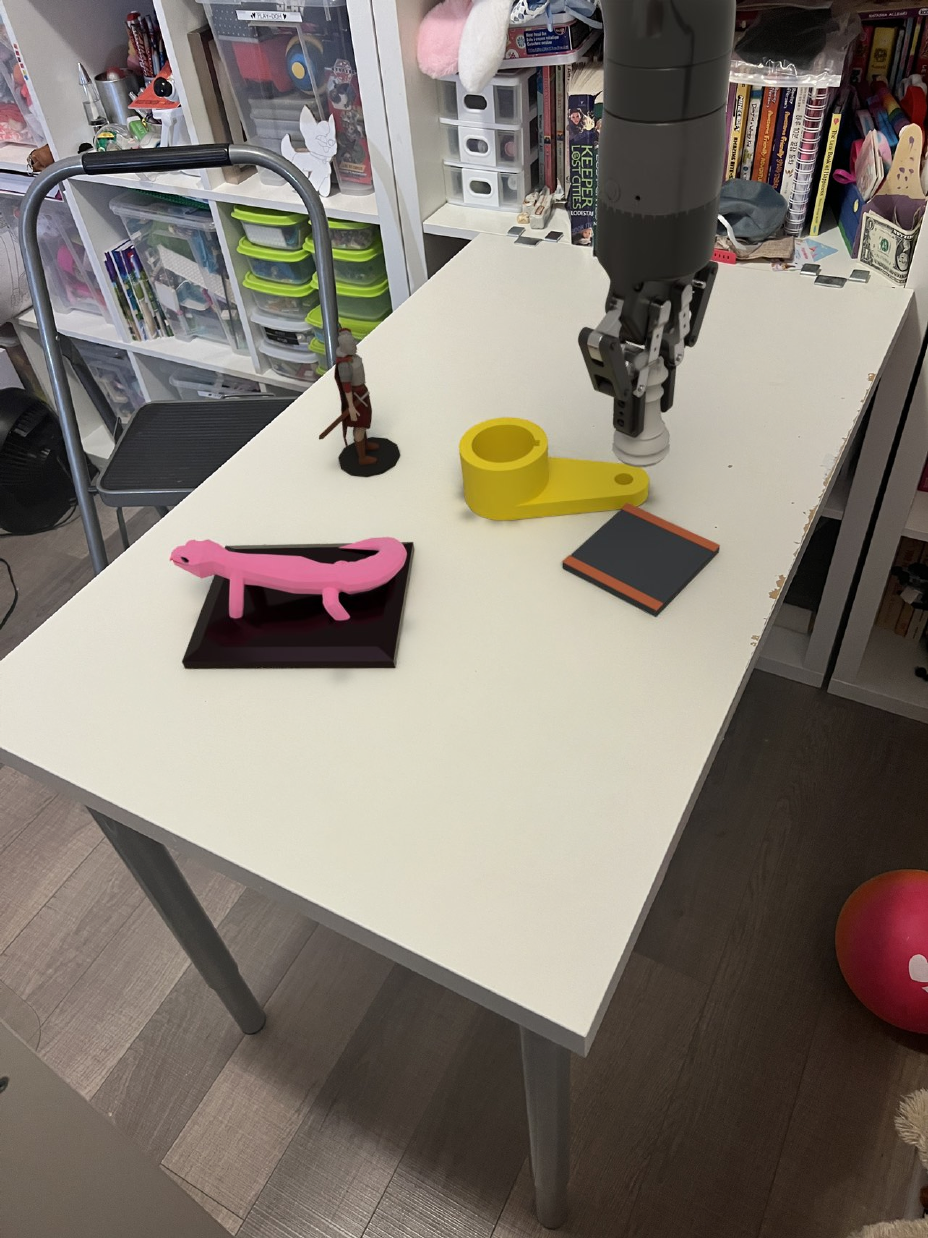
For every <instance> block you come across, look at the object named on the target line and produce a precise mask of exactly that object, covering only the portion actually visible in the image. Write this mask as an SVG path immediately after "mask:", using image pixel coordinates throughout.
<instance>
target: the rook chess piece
mask: <svg viewBox="0 0 928 1238" xmlns="http://www.w3.org/2000/svg"><path fill="white" fill-rule="evenodd" d="M627 363H628V365H626V366H627V370H628V374H629V375H631V376H634V371H635V366H634V364H632V363H630V362H627ZM667 377H668V370H667V369H666V367H665V366H664V359H663V358H662V357H661V356H660V357H658V360H657V361H656V362H655V363H653V364H651V365H650V368H649V374H648V380H647V385H646V389H645V392H646V402H645V417H644V430H643V432H642V433H641V434H640V435H639V436H637V437H636V438H633V437H630V436H628V435H626V434H623V433H621V432H618V431H617V430H616V429H615V430H614V432H613V440H612V441H613V442H612V446H611V447H612V448H611V451H612V453H613V454H614V456H615V458H616V459H617V460H618V461H620V463H622V464H626V465H629V466H633V467H640V468H648V467H652V466H653V467H654V466H655V465H657V464H659V463H660V462H662V461H663V460H664V459H665V458H667V456H668V454H669V453H670V452H671V444H670V442H671V438H670V437H671V436H670V431H669V430H668V428H667V427H666V423H665V421H664V420H663V417H662V412H661V409H660V398H661V396H662V395H663V394H664V389H663V388H662V386H661V384H662V383H663V382H664V381H665V379H666V378H667Z"/></svg>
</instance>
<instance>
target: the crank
mask: <svg viewBox="0 0 928 1238" xmlns="http://www.w3.org/2000/svg"><path fill="white" fill-rule="evenodd" d="M458 450H459V451H458V452H459V459H460V466H461V476H462V483H463V492H464V493H463V494H464V499H465V503H466V505H467V506H468V508H469V509H470V510H471V511H472V512H473V513H474V514H476V515H478V516H479V517H482V518H485V519H488V520H493V521H501V522H502V521H504V522H505V521H515V520H516V521H517V520H526V519H535V518H545V517H555V516H557V517H558V516H567V515H576V514H587V513H596V512H597V513H598V512H606V511H616V510H621V508H622V507H623V506H624V505H625V504H626V503H629V504H631V505H633V506H635V507H638V506H641V505H643V503H645V501H646V500H647V499H648V497H649V487H650V477H649V473H647V471H646V470H644V468H643V467H633V466H629V465H626V464H624V463H623V462H609V461H600V460H589V459H580V458H566V457H559V456H558V457H557V456H549V441H548V435H547V433H546V432H545V430H544V429H543V428H542V427H541V426H539V425H538V424H537V423H535V422H533V421H530V420H529V419H525V418H520V417H511V416H510V417H509V416H508V417H507V416H504V417H497V418H496V417H495V418H490V419H487V420H484V421H481V422H478V423H476V424H474V425H473V426H471V427H470V428H469V429H467V430H466V431H465V433H463V435H462V436H461V438H460V440H459V444H458Z"/></svg>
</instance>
